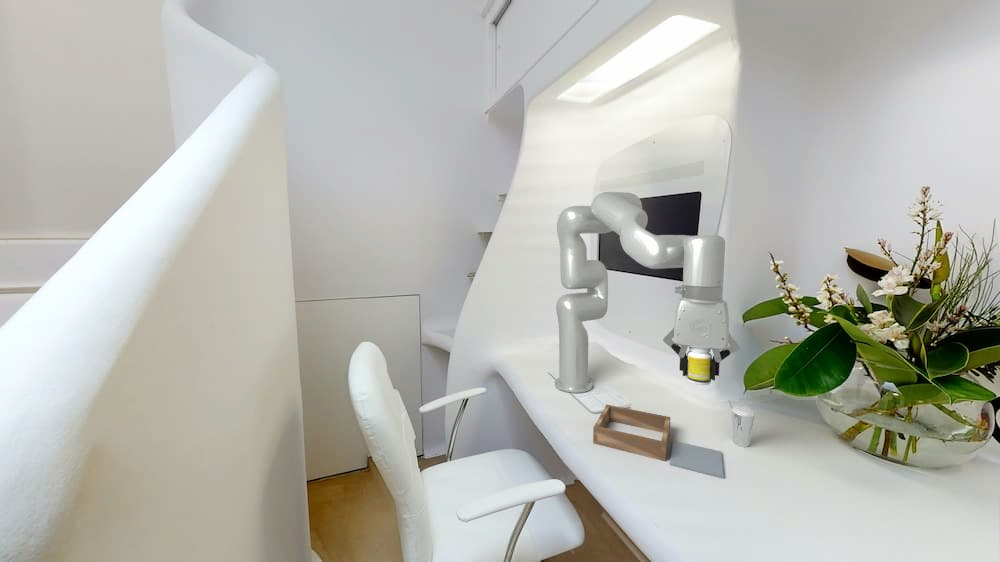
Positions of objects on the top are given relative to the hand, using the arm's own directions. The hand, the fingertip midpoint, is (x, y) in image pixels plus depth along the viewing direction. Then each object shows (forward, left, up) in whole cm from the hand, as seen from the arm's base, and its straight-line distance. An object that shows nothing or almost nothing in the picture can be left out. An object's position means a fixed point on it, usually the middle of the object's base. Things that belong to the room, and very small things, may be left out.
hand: (698, 375), depth 79 cm
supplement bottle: (0, 0, -2) cm, 2 cm away
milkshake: (-12, +9, -20) cm, 25 cm away
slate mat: (0, 0, -19) cm, 19 cm away
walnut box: (-3, -14, -19) cm, 24 cm away
